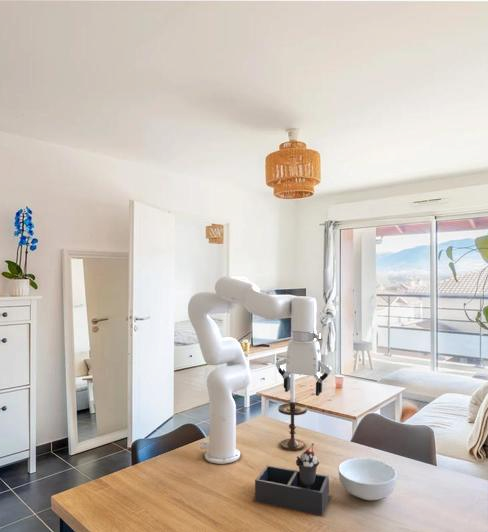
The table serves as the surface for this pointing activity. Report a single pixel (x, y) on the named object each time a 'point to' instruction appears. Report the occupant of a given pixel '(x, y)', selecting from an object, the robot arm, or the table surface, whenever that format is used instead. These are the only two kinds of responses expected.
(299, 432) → the table surface
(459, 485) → the table surface
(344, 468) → the cereal bowl
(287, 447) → the candlestick
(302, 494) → the caddy
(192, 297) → the robot arm
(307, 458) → the sundae
